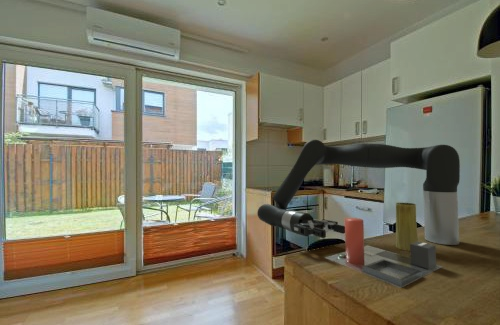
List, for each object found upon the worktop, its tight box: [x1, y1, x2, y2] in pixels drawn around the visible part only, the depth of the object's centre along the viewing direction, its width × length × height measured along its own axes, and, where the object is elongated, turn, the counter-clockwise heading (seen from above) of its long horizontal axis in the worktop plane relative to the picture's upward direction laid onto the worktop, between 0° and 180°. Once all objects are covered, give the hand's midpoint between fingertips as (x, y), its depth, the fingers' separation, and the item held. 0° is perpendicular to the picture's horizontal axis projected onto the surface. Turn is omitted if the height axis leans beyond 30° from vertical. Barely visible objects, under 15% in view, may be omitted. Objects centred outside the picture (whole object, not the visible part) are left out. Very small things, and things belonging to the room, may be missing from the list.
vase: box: [395, 202, 419, 252], centre depth 74 cm, size 6×6×14 cm
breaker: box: [409, 241, 437, 269], centre depth 60 cm, size 4×4×5 cm
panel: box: [324, 244, 443, 289], centre depth 62 cm, size 20×20×2 cm
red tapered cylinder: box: [344, 217, 365, 264], centre depth 63 cm, size 5×5×11 cm
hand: (335, 232), depth 69 cm, fingers open, 8 cm apart
